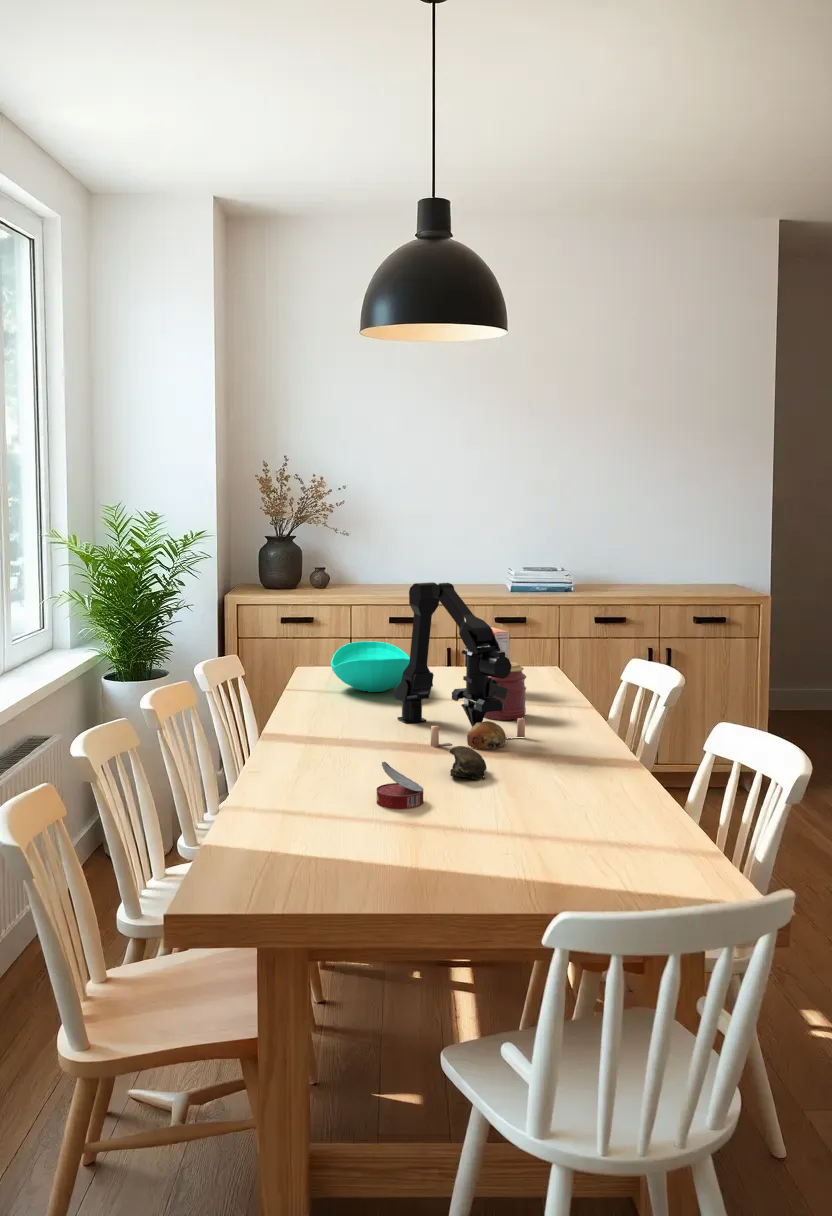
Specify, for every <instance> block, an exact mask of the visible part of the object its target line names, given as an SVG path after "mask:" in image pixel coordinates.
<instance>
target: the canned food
mask: <svg viewBox="0 0 832 1216" xmlns="http://www.w3.org/2000/svg"><path fill="white" fill-rule="evenodd" d="M381 766H382V768H383V772H384V773H385V774H386V776H388V778H390V779H391V780H393V783H392V782H391V783H386V784H382V785H379V786H378V787H376V805H377V806H379V807H381V808H385V809H389V810H408V809H415V808H419V807H421V806H422V805H424V788H423V787H422V786H421V785H420V784H419V783H418V782H416V781H414V780H412V779H411V778H410V777H408V776H405V775H404V774H402V773H400V772H399V771H397V770H396V769H395V768H393V767H392V766H390V764H388V762H386V761H381Z"/></svg>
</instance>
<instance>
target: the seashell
mask: <svg viewBox="0 0 832 1216" xmlns="http://www.w3.org/2000/svg"><path fill="white" fill-rule="evenodd" d="M448 752H449V754H451V755H452V756H454V762H453V764H452V767H451V769H450V771H449V772H450V775H449V776H450V777H459V778H467V779H468V778H470V779H472V780H476V781H484V780H485V775H486V774H485V772H486V770H487V764H486V761H485V759H484V758H483V757H482V755H481V754H480V753H479V752H478V751H476V750H475V749H474V748H471V747H470V746H464V745H458V746H453V747H451V748H450V749H449V751H448ZM483 776H484V777H483Z"/></svg>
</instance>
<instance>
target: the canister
mask: <svg viewBox="0 0 832 1216" xmlns="http://www.w3.org/2000/svg"><path fill="white" fill-rule="evenodd" d="M505 657H507V656H505ZM507 658H508V657H507ZM510 663H511V671H510V673H509V675H508V676H507V677H506V678H504V679H499V678H495V677H491V676H488V677H490V678H491V679H493V680H496V681H498V685H500V686H503V687H505V688H508V689H509V691H508V694H507V697H506V700H503V699H502V698H498V697H495V696H493V697H495V698H497V699H500V700H501V701H502V702H503V711H493V712H487V713H486V714H485V716H484V718H485V717H486V718H485V719H488V718H490V719H489V720H494V719H499V720H498V721H512V720H511V719H516V720H517V719H518V718H522V717H523V718H525V717H524V716H526V711H527V710H526V709H527V708H526V692H527V686H526V685H525V680H526V679H527V675H526V674H525V673H524V672H523V671H524V669H525V668H524V666H521V665H520V664H519V663H517V662H514V661H510Z"/></svg>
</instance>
